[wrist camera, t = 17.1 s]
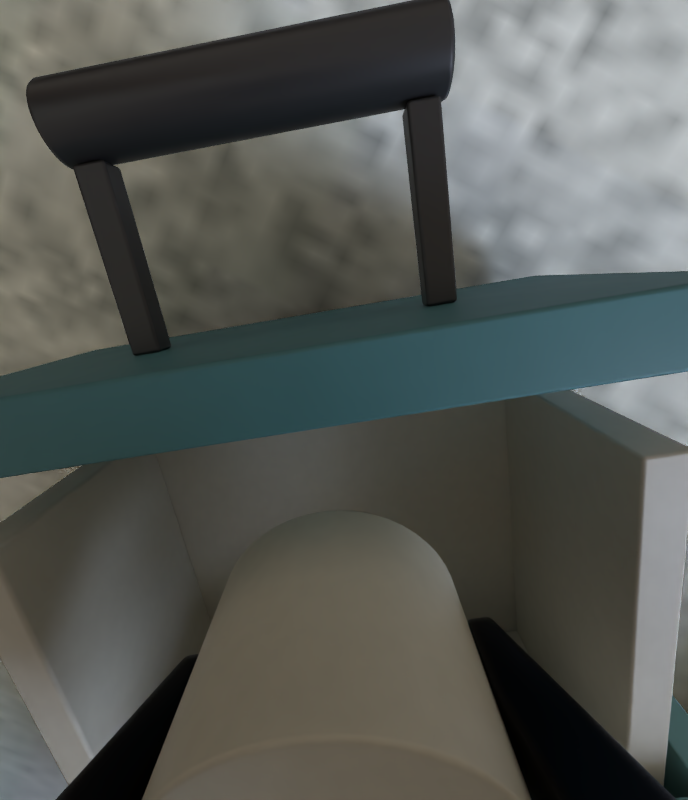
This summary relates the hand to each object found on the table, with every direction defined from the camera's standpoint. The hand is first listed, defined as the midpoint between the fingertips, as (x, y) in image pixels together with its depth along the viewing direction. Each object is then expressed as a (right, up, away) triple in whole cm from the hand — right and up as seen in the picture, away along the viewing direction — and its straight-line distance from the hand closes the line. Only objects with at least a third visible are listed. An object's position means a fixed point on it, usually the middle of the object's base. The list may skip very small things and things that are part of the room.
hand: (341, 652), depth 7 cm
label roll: (0, 0, +1) cm, 1 cm away
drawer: (0, +4, +6) cm, 7 cm away
